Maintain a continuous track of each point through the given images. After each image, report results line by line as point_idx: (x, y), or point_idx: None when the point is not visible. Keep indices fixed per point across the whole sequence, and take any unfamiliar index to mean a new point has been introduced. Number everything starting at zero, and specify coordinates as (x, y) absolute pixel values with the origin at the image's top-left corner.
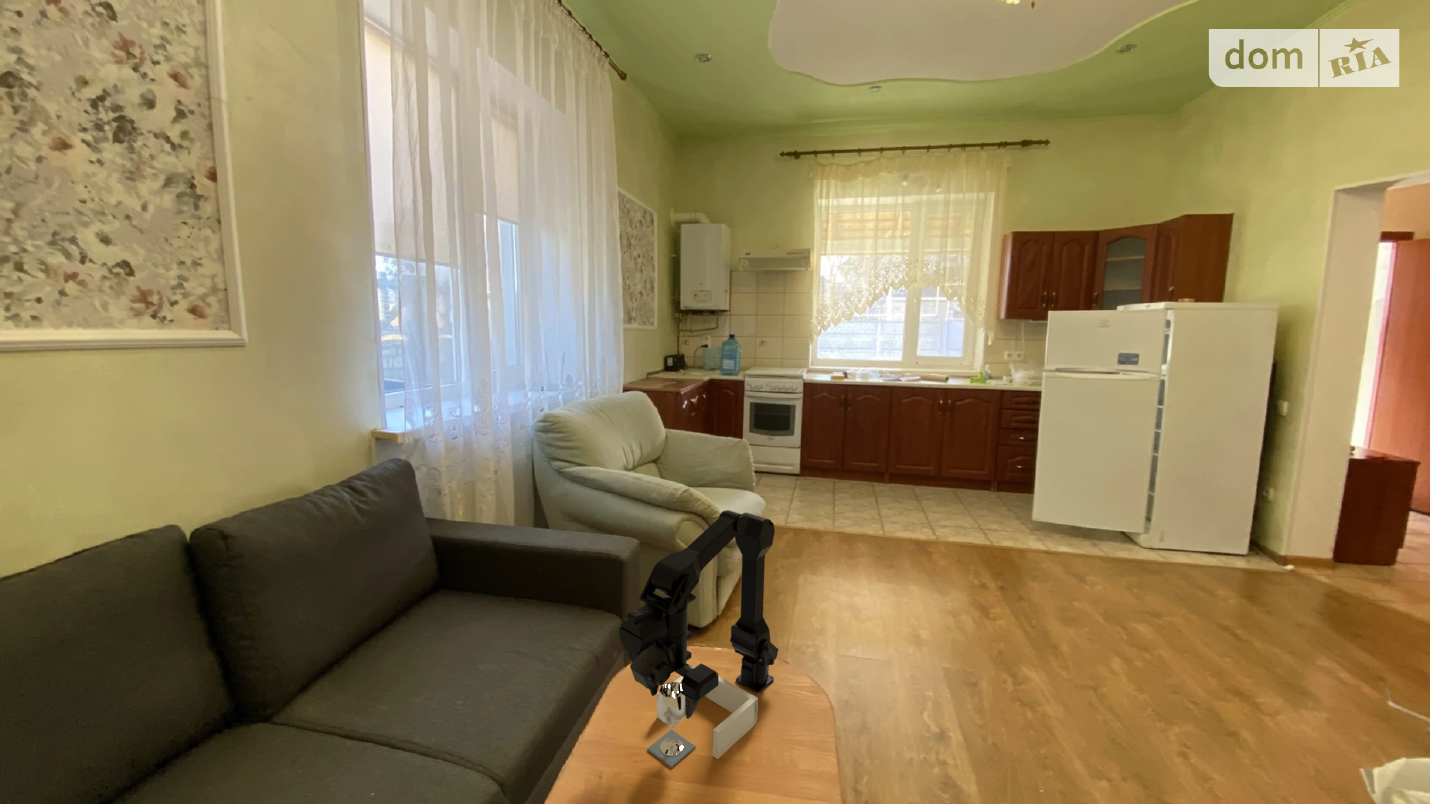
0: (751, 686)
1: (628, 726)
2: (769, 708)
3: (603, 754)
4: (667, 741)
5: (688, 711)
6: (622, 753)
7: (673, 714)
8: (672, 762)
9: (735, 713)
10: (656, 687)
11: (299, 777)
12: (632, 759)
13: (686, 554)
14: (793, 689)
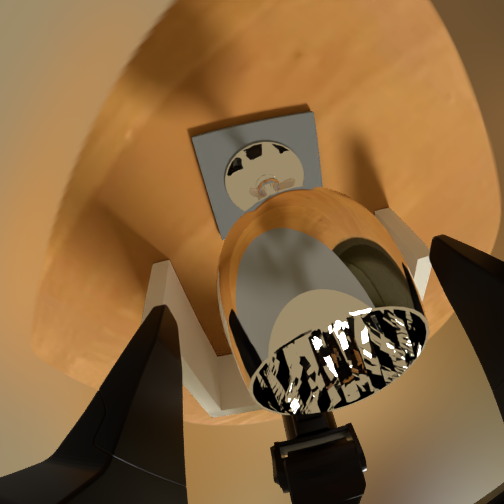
0: None
1: (420, 127)
2: None
3: (381, 7)
4: (289, 179)
5: (123, 354)
6: (351, 45)
7: (227, 263)
8: (205, 149)
9: (192, 381)
10: (450, 282)
11: None
12: (309, 53)
13: None
14: (241, 416)
